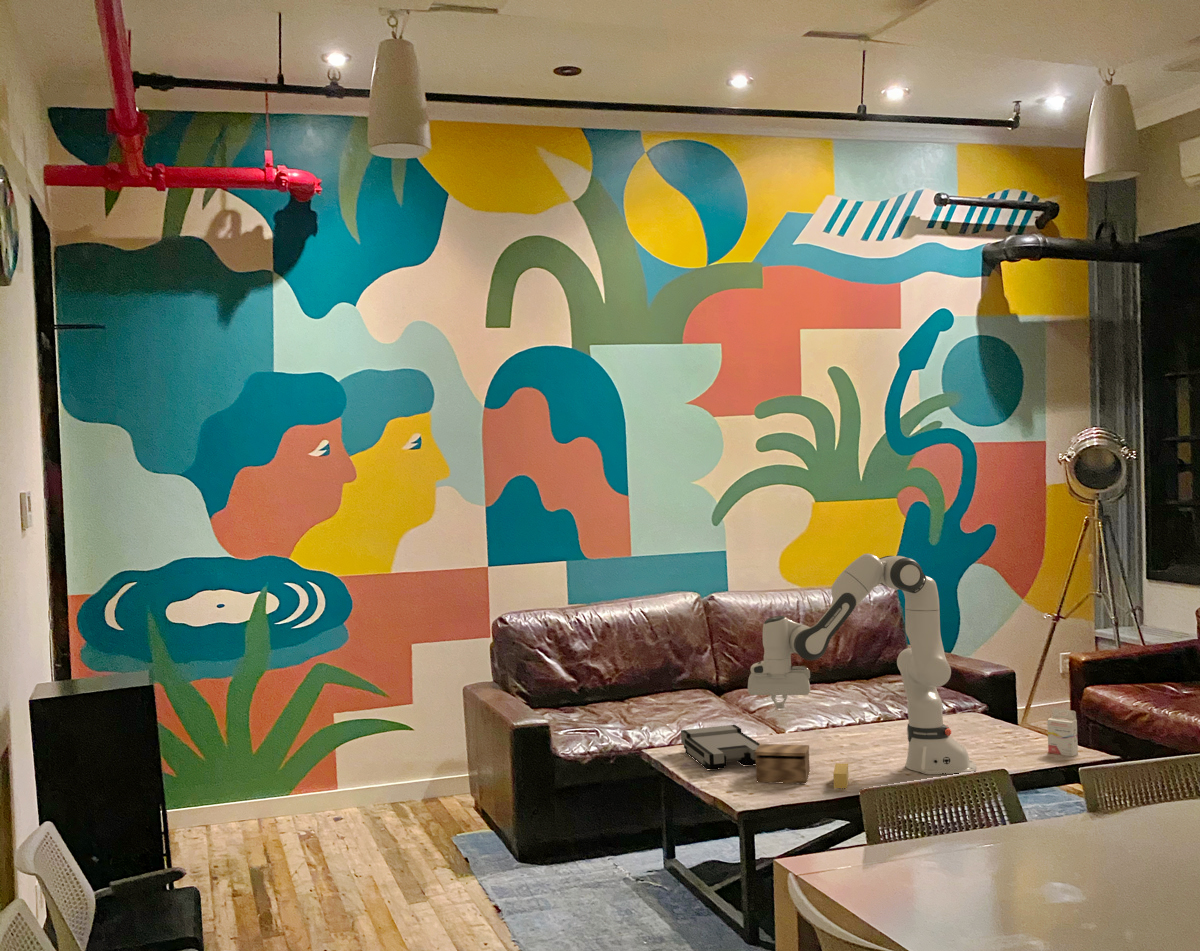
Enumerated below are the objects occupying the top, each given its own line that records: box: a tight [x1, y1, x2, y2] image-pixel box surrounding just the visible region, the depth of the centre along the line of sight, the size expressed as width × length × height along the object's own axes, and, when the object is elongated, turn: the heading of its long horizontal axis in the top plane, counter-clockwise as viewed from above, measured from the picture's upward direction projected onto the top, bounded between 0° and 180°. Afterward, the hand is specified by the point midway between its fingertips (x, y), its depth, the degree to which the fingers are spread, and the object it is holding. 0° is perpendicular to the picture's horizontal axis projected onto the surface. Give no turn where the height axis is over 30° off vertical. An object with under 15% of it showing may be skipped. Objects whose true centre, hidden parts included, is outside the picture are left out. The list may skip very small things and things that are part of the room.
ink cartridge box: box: [1047, 707, 1079, 757], centre depth 379 cm, size 9×5×15 cm, turn 47°
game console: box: [680, 724, 761, 770], centre depth 391 cm, size 21×32×8 cm, turn 13°
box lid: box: [754, 743, 810, 756], centre depth 366 cm, size 16×14×1 cm
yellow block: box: [832, 762, 849, 790], centre depth 356 cm, size 4×12×5 cm, turn 165°
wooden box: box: [755, 749, 811, 784], centre depth 366 cm, size 16×14×8 cm
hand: (780, 708), depth 364 cm, fingers closed
